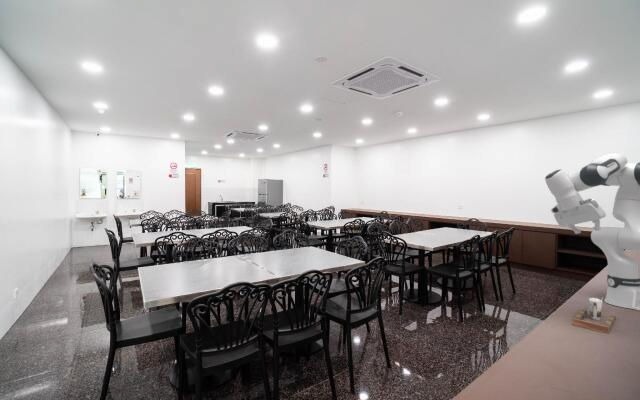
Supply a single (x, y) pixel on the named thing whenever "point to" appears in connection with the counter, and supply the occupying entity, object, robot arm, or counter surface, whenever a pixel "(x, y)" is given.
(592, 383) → the counter surface
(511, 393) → the counter surface
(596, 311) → the milkshake
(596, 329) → the rail guide
